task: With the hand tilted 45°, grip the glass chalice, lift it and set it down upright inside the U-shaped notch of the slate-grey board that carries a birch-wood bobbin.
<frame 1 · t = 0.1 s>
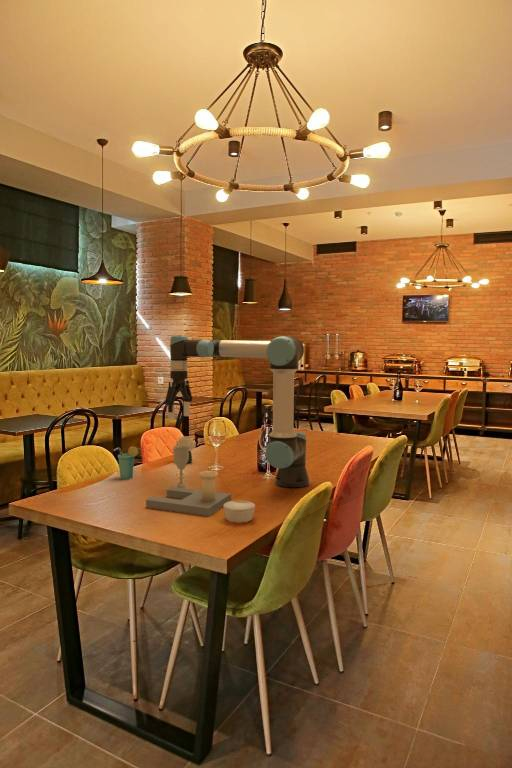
hand: (179, 417, 246), 28 cm above the table, tool pointing down, fingers open, 13 cm apart
cup: (125, 478, 248), on the table
notched board: (189, 504, 211), on the table
ramekin: (239, 519, 195), on the table
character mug: (186, 463, 281), on the table
chalice: (181, 490, 231), on the table
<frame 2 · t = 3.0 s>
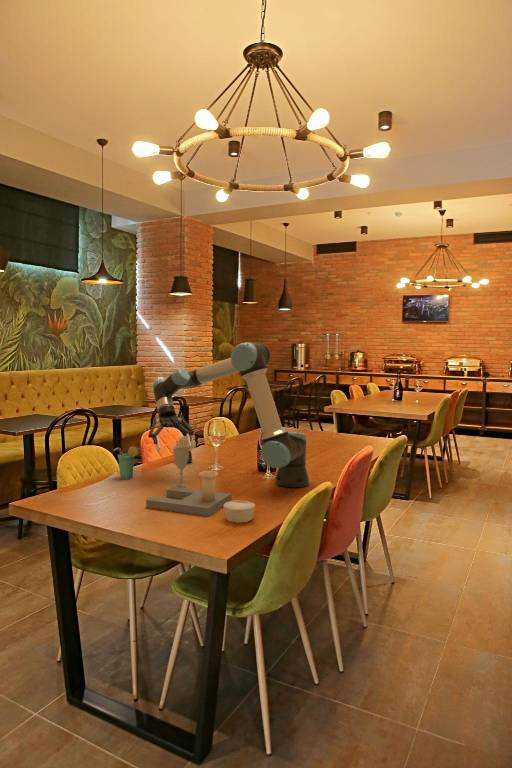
hand: (174, 448, 237), 16 cm above the table, tool tilted 45°, fingers open, 13 cm apart
nothing on the table moved.
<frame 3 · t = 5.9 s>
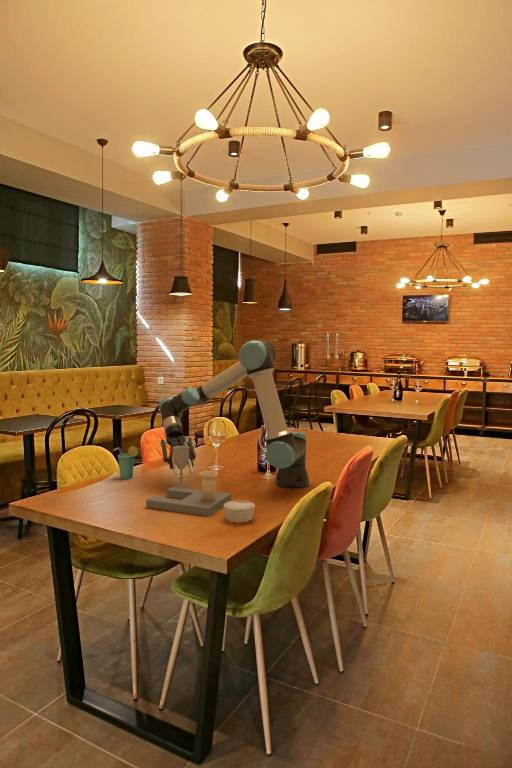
hand: (183, 474, 227), 7 cm above the table, tool tilted 45°, fingers closed on chalice, 6 cm apart
chalice: (181, 490, 231), on the table, touching gripper
everything else where it was.
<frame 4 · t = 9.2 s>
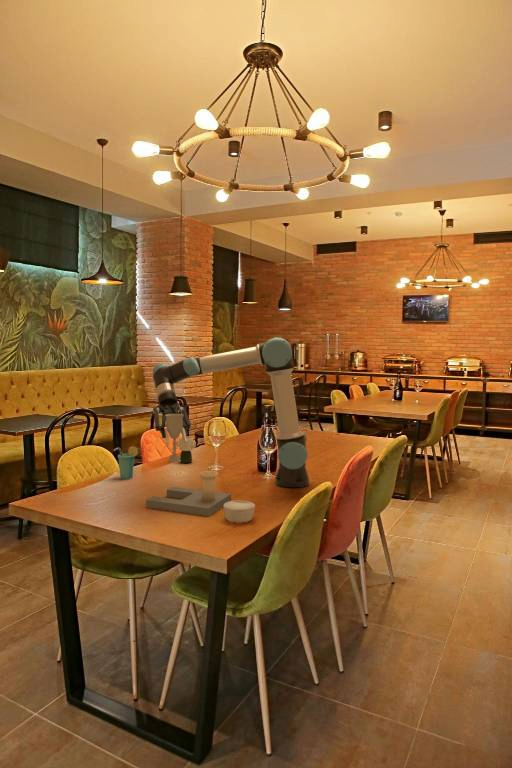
hand: (176, 443, 210), 23 cm above the table, tool tilted 45°, fingers closed on chalice, 6 cm apart
chalice: (174, 461, 214), point 16 cm above the table, touching gripper
everything else where it was.
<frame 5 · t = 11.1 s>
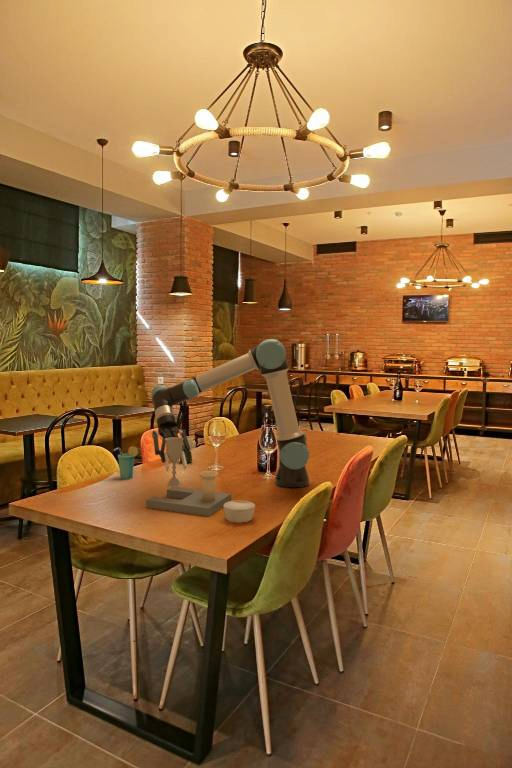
hand: (176, 468, 209), 14 cm above the table, tool tilted 45°, fingers closed on chalice, 6 cm apart
chalice: (173, 485, 213), point 7 cm above the table, touching gripper
everything else where it was.
when the fingers open (9 cm above the table, at t = 12.5 s): chalice drops 1 cm, resting in notched board.
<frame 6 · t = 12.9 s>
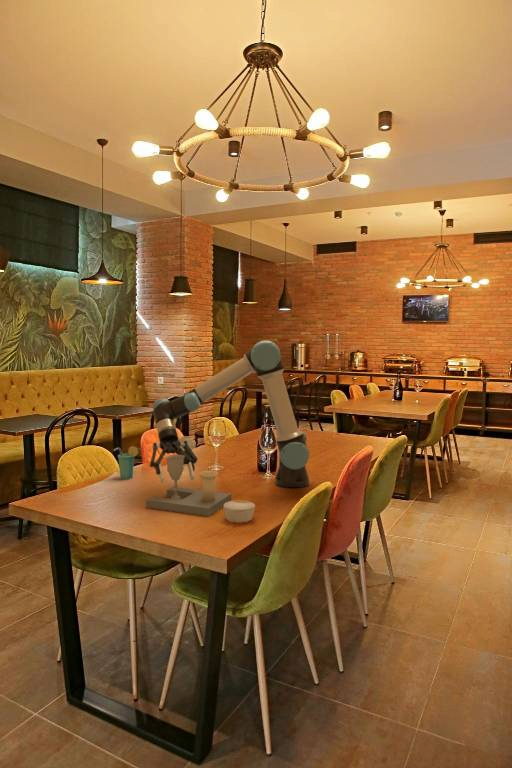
hand: (177, 479, 210), 10 cm above the table, tool tilted 45°, fingers open, 11 cm apart
chalice: (176, 502, 213), resting in notched board
everything else where it was.
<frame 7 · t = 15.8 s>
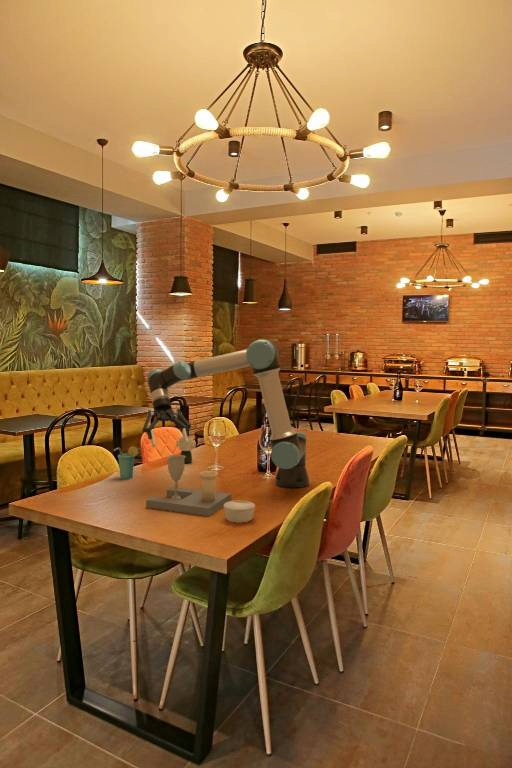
hand: (170, 444, 223), 21 cm above the table, tool tilted 40°, fingers open, 13 cm apart
nothing on the table moved.
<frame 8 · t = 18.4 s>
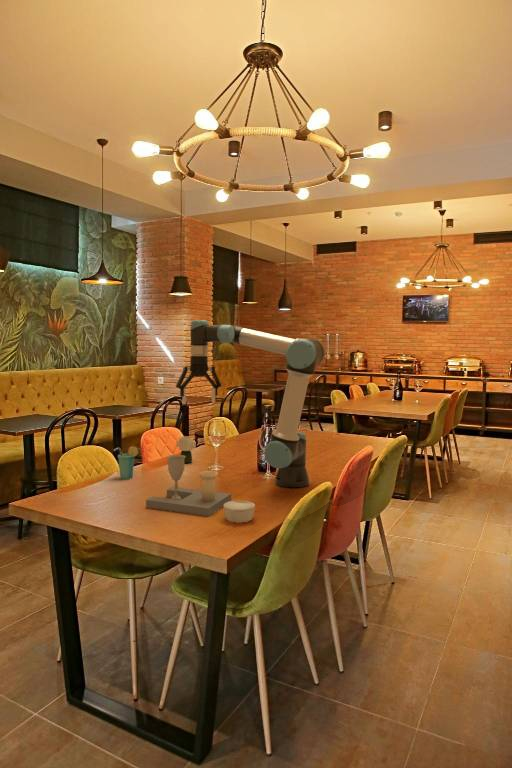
hand: (198, 403, 243), 35 cm above the table, tool pointing down, fingers open, 13 cm apart
nothing on the table moved.
at the end: chalice inside the target area on the notched board (0.8 cm from its centre), point 0.0 cm above the notched board's base; chalice tilted 0°; the gripper is holding nothing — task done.
